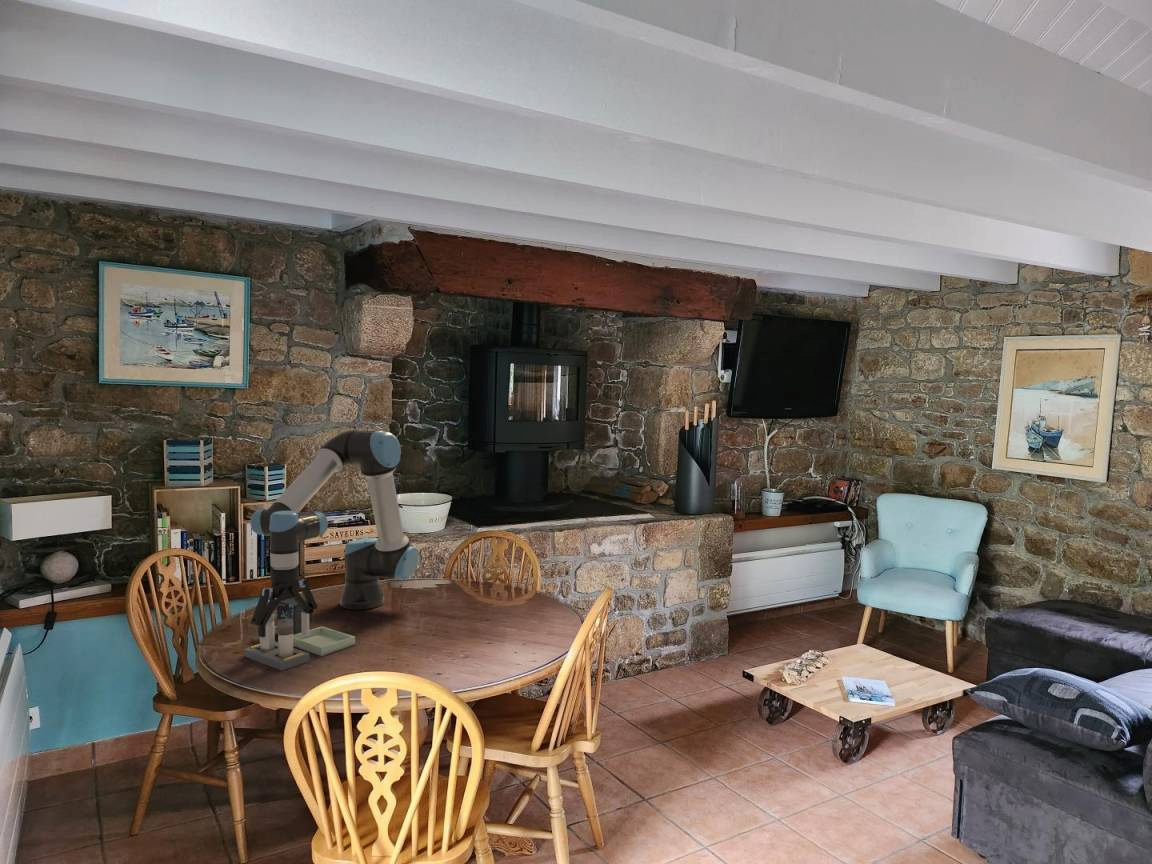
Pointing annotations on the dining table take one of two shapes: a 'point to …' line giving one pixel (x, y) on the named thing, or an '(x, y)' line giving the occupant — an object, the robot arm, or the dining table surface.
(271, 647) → the fuse
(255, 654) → the fuse holder
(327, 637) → the parts tray
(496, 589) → the dining table surface
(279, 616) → the box
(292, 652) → the cylinder
